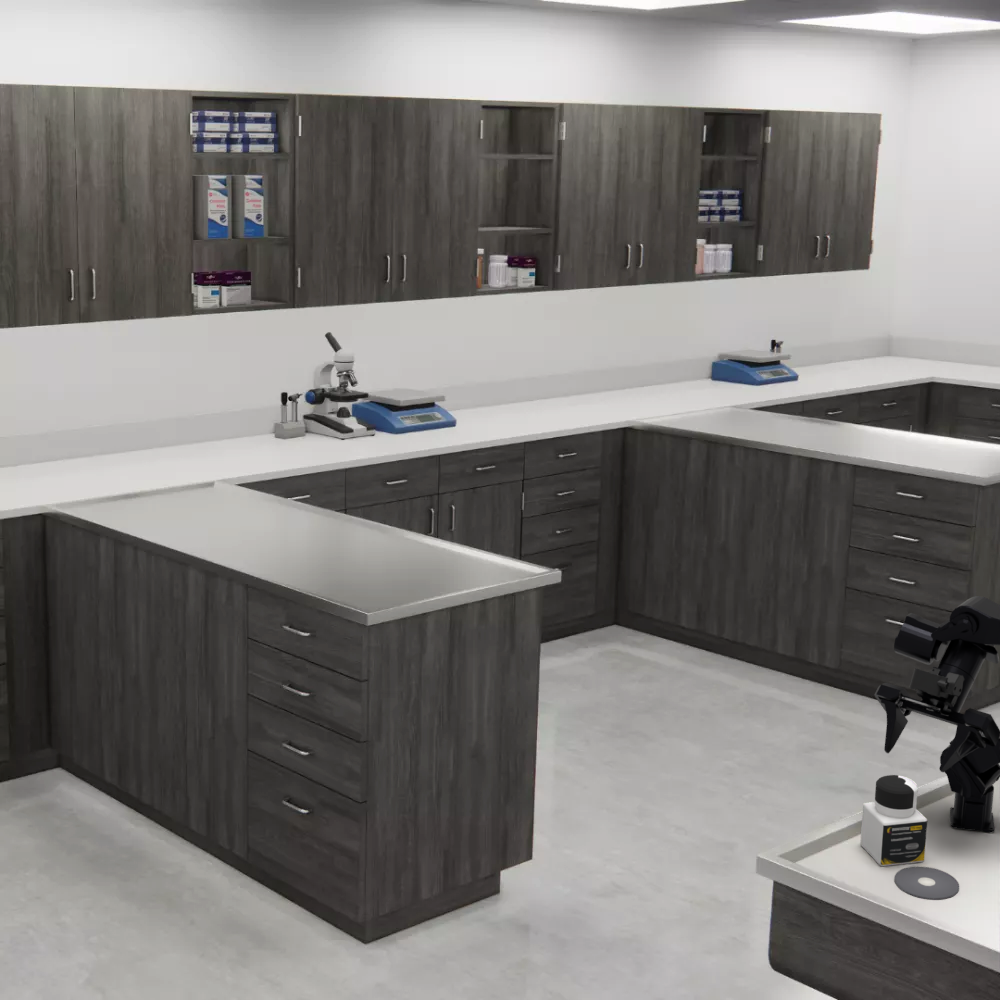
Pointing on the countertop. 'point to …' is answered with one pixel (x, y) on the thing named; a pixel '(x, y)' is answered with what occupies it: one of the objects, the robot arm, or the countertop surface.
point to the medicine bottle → (894, 823)
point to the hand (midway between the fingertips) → (913, 761)
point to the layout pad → (926, 883)
